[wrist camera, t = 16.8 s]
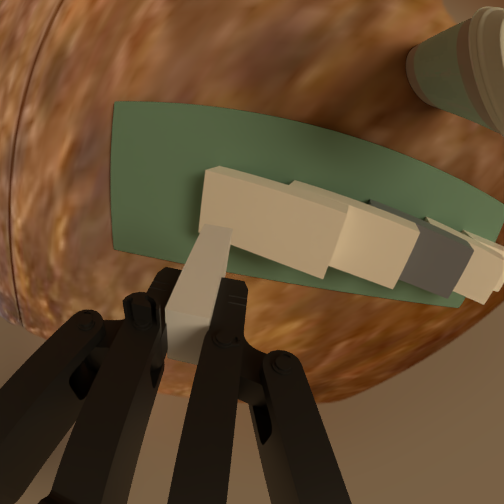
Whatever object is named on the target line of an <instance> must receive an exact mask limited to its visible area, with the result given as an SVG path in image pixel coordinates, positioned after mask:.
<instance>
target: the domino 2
mask: <svg viewBox="0 0 504 504" xmlns="http://www.w3.org/2000/svg"><path fill="white" fill-rule="evenodd" d="M290 186H293V187H296V188H299V189H302V190H305V191H308V192H311V193H315V194H318V195H321V196H323V197H326V198H329V199H332V200H335V201H338V202H341V203H344V204H346V205H349V207H348V211H347V215H346V218H345V221H344V224H343V227H342V230H341V232H340V235H339V238H338V241H337V244H336V247H335V249H334V252H333V255H332V257H331V260H330V263H329V265H328V266H330V267H333V268H336V269H339V270H341V271H344V272H347V273H350V274H352V275H355V276H358V277H361V278H363V279H366V280H369V281H371V282H374V283H377V284H380V285H382V286H385V287H388V288H390V289H393V288H394V286H395V285H396V283H397V281H398V279H399V277H400V275H401V273H402V271H403V269H404V267H405V265H406V263H407V261H408V258H409V256H410V254H411V252H412V250H413V248H414V245H415V243H416V241H417V239H418V236H419V234H420V231H419V229H418V227H417V225H416V223H414V222H411V221H409V220H407V219H404V218H402V217H399V216H397V215H394V214H392V213H389V212H387V211H384V210H381V209H379V208H376V207H373V206H371V205H368V204H365V203H363V202H360V201H357V200H354V199H351V198H349V197H346V196H343V195H340V194H337V193H334V192H331V191H328V190H325V189H322V188H319V187H316V186H313V185H309V184H306V183H303V182H300V181H296V180H294V181H293V182H292V183H291V184H290Z"/></svg>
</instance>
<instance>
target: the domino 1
mask: <svg viewBox="0 0 504 504" xmlns="http://www.w3.org/2000/svg"><path fill="white" fill-rule="evenodd" d="M348 207H349V205H346V204H344V203H341V202H338V201H335V200H332V199H329V198H326V197H323V196H321V195H318V194H315V193H311V192H308V191H305V190H302V189H299V188H296V187H293V186H290V185H286V184H283V183H280V182H276V181H273V180H270V179H266V178H263V177H259V176H256V175H252V174H249V173H245V172H241V171H238V170H234V169H230V168H226V167H222V166H217V167H214V168H210V169H207V170H205V178H204V186H203V194H202V203H201V212H200V221H199V231H198V232H199V233H200V232H201V230H202V228H203V226H204V224H209V225H215V226H221V227H226V228H232V229H233V232H232V238H231V245H233V246H236V247H239V248H241V249H244V250H247V251H249V252H252V253H254V254H257V255H260V256H262V257H265V258H268V259H270V260H273V261H276V262H278V263H281V264H284V265H286V266H289V267H292V268H294V269H297V270H300V271H302V272H305V273H307V274H310V275H313V276H315V277H318V278H321V279H323V278H324V276H325V273H326V271H327V268H328V265H329V263H330V260H331V257H332V255H333V252H334V249H335V247H336V244H337V241H338V238H339V235H340V232H341V230H342V227H343V224H344V221H345V218H346V215H347V211H348Z"/></svg>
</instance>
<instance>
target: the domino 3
mask: <svg viewBox="0 0 504 504" xmlns="http://www.w3.org/2000/svg"><path fill="white" fill-rule="evenodd" d="M424 221H426V222H428V223H430V224H432V225H435V226H437V227H439V228H441V229H443V230H445V231H448V232H450V233H452V234H454V235H456V236H458V237H460V238H462V239H464V240H466V241H468V243H469V244H470V245H471V247H472V248H473V249H474V252H473V254H472V256H471V258H470V260H469V262H468V264H467V266H466V268H465V270H464V272H463V274H462V275H461V277H460V279H459V281H458V283H457V284H456V286H455V288H454V290H453V291H454V292H456V293H458V294H461V295H463V296H465V297H467V298H470V299H472V300H474V301H477V302H479V303H481V304H483V305H484V304H485V302H486V301H487V299H488V298H489V296H490V294H491V293H492V291H493V289H494V288H495V286H496V284H497V282H498V281H499V279H500V277H501V275H502V273H503V271H504V257H503V256H502V255H501V254H500V253H498V252H496V251H494V250H493V249H491V248H489V247H487V246H485V245H483V244H482V243H480V242H478V241H476V240H474V239H472V238H470V237H468V236H466V235H464V234H462V233H460V232H458V231H456V230H454V229H452V228H450V227H448V226H446V225H444V224H442V223H439V222H437V221H435V220H433V219H431V218H428V217H425V220H424Z"/></svg>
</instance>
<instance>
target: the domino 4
mask: <svg viewBox="0 0 504 504" xmlns="http://www.w3.org/2000/svg"><path fill="white" fill-rule="evenodd" d="M462 234H464V235H466V236H468V237H470V238H472V239H474V240H476V241H478V242H480V243H482V244H483V245H485V246H487V247H489V248H491V249H493V250H494V251H496V252H498V253H500V254H501V255H502V256H503V257H504V246H501V245H499V244H497V243H494V242H492V241H490V240H487V239H485V238H482V237H480V236H478V235H475V234H473V233H470V232H467V231H465V230H462ZM503 283H504V271H503V273H502V275H501V277H500V279H499V281H498V282H497V284H496V286H495V288H494V289H493V291H499V290H500V288H501V286H502V285H503Z"/></svg>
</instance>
